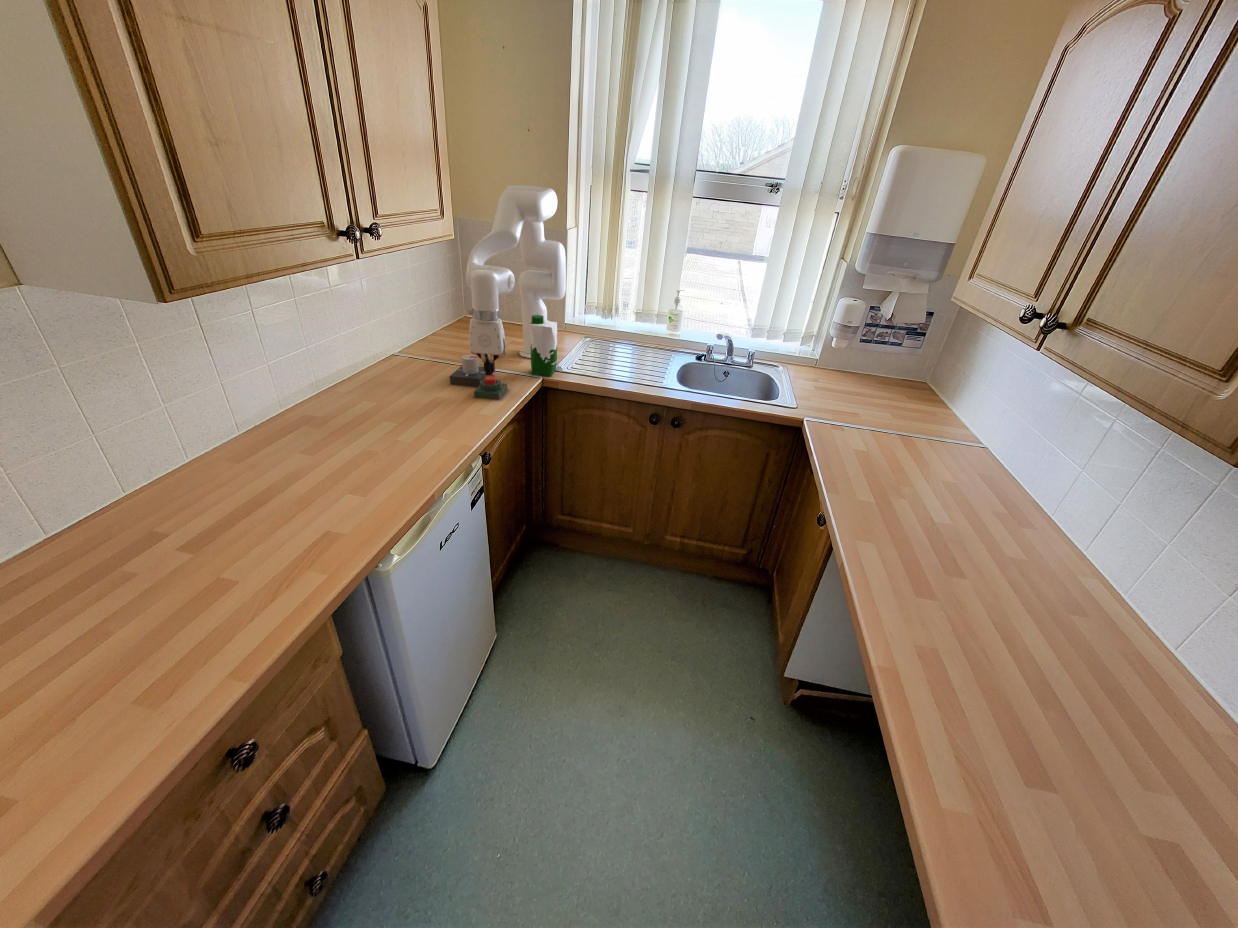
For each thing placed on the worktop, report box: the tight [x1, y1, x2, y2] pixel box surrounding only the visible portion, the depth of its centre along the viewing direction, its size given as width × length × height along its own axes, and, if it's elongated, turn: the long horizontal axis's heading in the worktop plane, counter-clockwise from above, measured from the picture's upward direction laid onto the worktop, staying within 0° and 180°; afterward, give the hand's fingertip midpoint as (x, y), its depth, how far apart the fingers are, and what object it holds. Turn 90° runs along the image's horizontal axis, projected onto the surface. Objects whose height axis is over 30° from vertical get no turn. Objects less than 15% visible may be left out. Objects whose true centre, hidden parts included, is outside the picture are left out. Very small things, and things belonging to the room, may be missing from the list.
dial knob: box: [461, 354, 480, 374], centre depth 162 cm, size 5×5×5 cm
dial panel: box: [449, 365, 492, 388], centre depth 164 cm, size 12×10×3 cm
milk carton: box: [529, 315, 558, 378], centre depth 171 cm, size 9×9×20 cm
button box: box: [473, 378, 508, 401], centre depth 155 cm, size 9×8×4 cm
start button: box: [484, 375, 497, 384], centre depth 154 cm, size 4×4×2 cm
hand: (489, 373), depth 153 cm, fingers closed
